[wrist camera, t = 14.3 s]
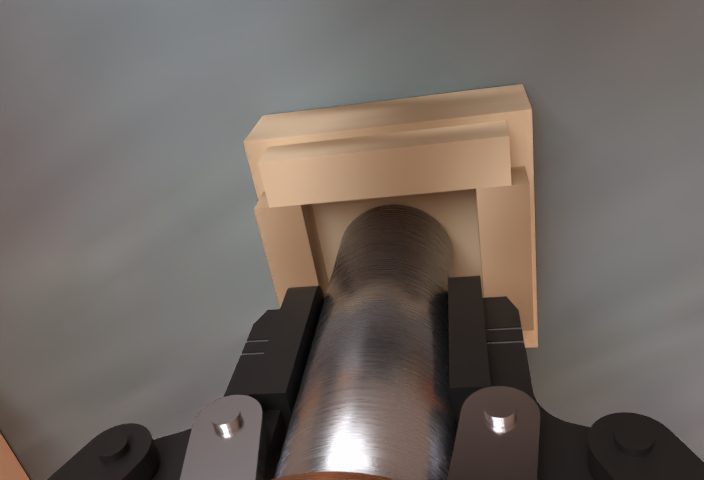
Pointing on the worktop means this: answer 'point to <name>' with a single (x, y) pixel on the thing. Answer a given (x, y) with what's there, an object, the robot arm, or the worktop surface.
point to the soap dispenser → (9, 463)
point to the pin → (379, 358)
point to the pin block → (403, 184)
